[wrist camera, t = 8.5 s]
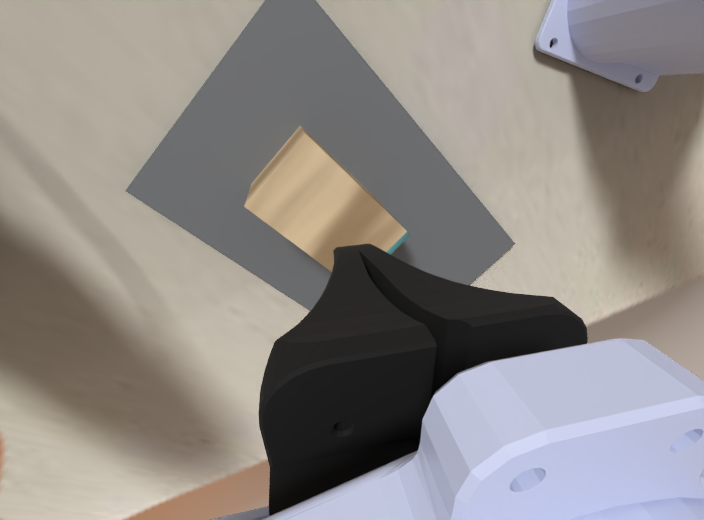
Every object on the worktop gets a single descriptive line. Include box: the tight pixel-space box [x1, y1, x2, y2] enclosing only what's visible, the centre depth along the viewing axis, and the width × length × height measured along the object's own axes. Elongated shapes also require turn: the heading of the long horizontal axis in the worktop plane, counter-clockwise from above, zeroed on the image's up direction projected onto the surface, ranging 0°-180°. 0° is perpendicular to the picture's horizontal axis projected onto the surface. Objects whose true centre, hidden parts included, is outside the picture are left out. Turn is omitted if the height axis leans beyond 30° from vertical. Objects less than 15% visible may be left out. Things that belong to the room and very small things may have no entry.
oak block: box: [244, 126, 411, 272], centre depth 18 cm, size 4×4×8 cm
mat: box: [126, 0, 515, 311], centre depth 22 cm, size 22×14×1 cm, turn 46°
